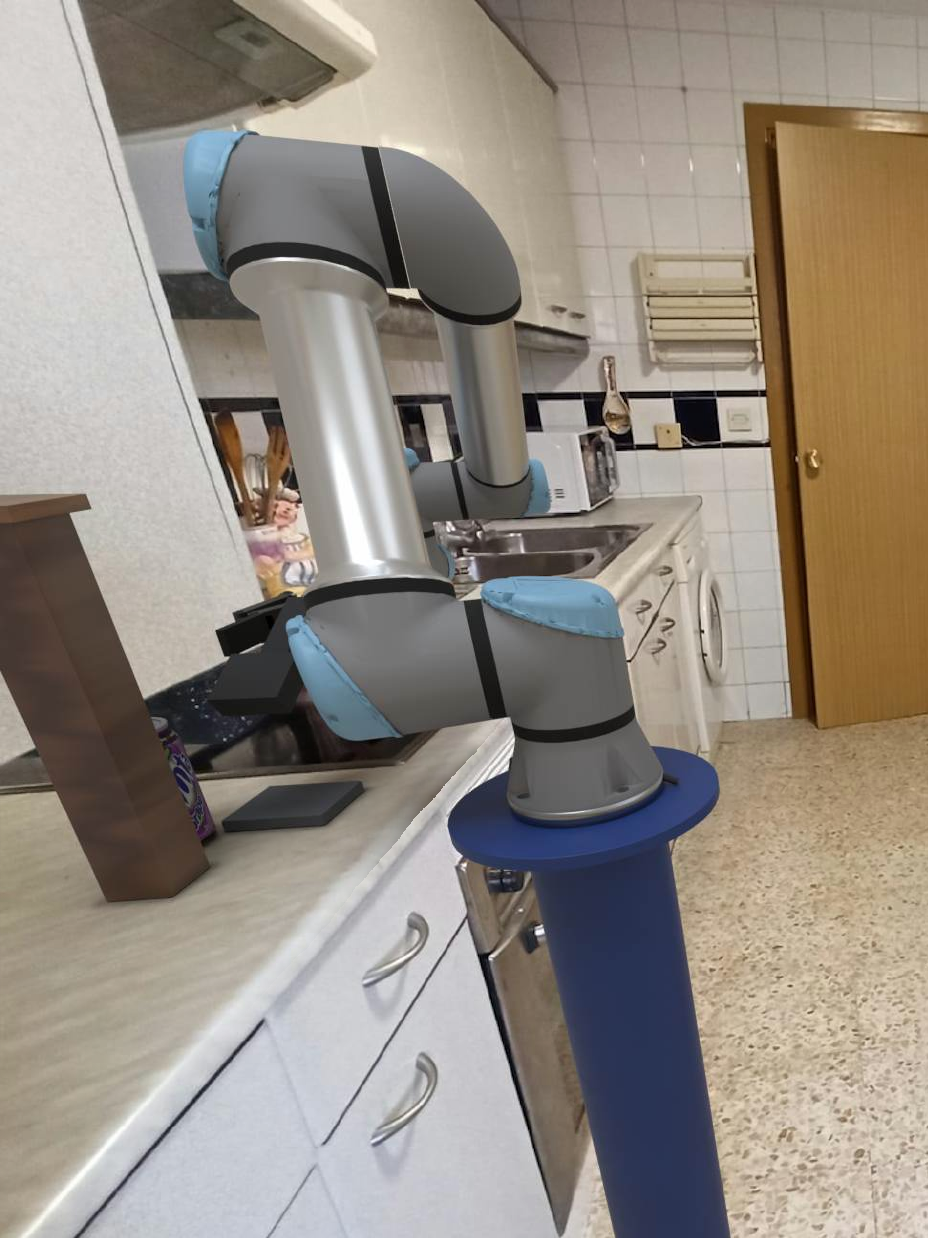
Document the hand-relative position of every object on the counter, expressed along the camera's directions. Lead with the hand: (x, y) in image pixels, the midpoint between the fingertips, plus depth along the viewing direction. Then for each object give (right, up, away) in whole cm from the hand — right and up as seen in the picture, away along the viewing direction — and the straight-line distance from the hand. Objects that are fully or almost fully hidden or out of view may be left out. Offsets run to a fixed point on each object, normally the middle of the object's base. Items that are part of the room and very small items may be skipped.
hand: (261, 642), depth 84 cm
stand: (-1, -22, -9) cm, 24 cm away
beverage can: (-7, -20, -3) cm, 21 cm away
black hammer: (0, -1, +3) cm, 4 cm away
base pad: (0, -17, +4) cm, 17 cm away
